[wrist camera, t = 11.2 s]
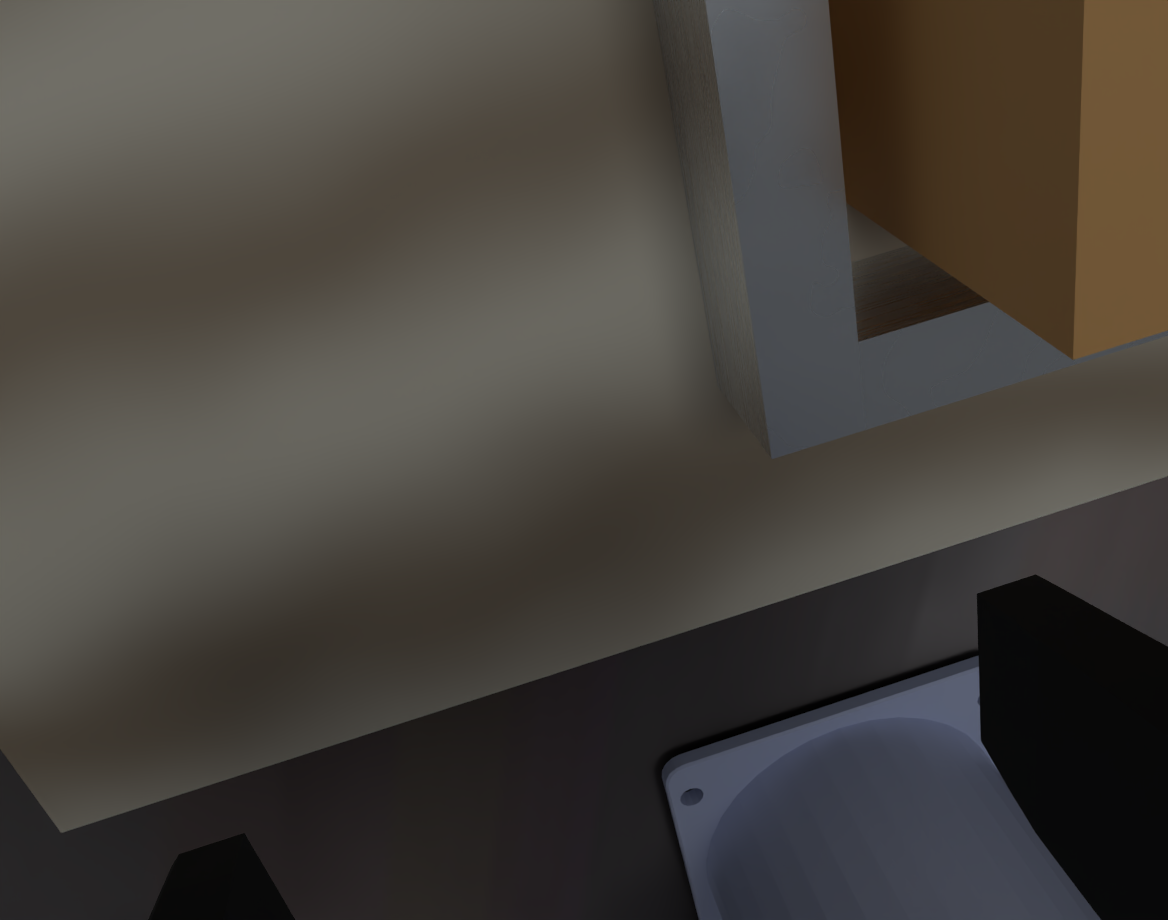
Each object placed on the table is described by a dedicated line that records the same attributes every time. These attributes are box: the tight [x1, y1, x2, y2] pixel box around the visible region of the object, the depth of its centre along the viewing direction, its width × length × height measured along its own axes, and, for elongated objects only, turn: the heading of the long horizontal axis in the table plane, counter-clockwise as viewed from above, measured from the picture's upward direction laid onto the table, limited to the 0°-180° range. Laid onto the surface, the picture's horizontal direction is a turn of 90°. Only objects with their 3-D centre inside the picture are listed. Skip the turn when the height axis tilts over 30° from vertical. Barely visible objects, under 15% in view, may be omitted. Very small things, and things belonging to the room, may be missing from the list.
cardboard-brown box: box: [828, 0, 1168, 360], centre depth 14 cm, size 5×4×6 cm
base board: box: [0, 0, 1168, 833], centre depth 17 cm, size 18×32×1 cm, turn 103°
